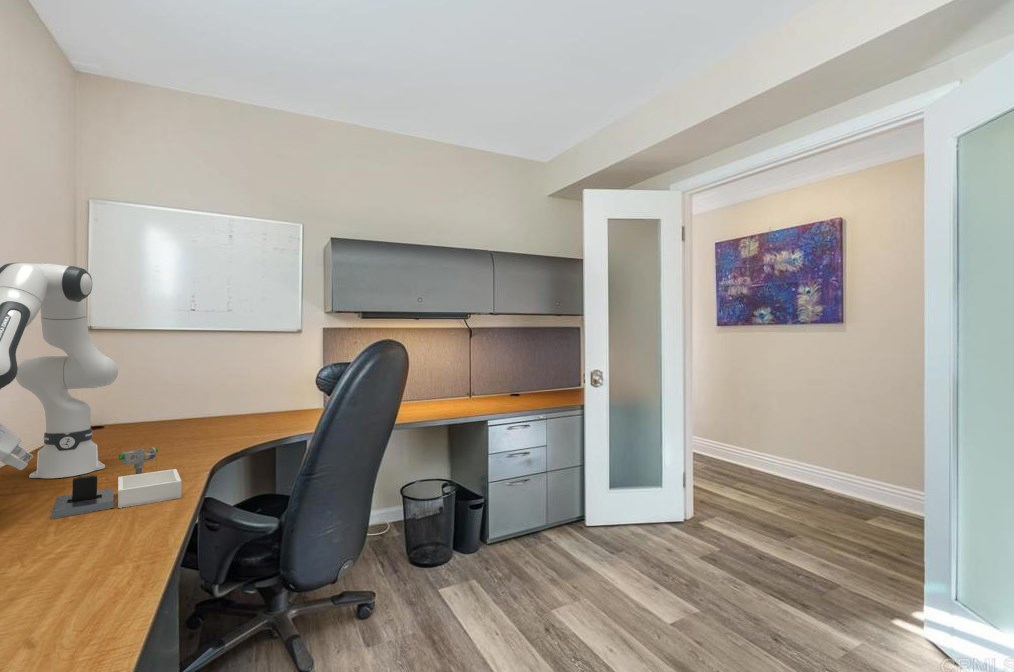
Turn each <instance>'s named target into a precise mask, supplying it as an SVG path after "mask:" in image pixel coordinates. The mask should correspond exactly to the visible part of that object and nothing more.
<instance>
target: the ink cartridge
mask: <svg viewBox="0 0 1014 672" xmlns="http://www.w3.org/2000/svg"><path fill="white" fill-rule="evenodd" d="M98 479H99V478H98V475H94V474H91V475H85V476H84V475H83V476H77V477H73V479H72V493H71V494H72V503H73V502H80V501H86V500H92V499H97V491H98Z"/></svg>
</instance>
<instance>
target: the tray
mask: <svg viewBox="0 0 1014 672" xmlns="http://www.w3.org/2000/svg"><path fill="white" fill-rule="evenodd" d="M117 477H118V478H117V481H118V483H117V484H118V487H117V488H118V489H117V493H118V494H117V509H118V508H120V509H123V508H122V507H126V508H130V507H129V506H131V507H137V506H142V505H147V504H149V505H150V504H155V503H159V502H166V501H172V500H177V499H182V478H181V476H180V474H179V472H178V470H177V468H174V469H166V470H158V471H151V472H145V473H143V472H142V474H136V473H135V474H130V475H124V476H123V475H122V476H117ZM136 505H137V506H136Z"/></svg>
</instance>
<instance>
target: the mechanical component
mask: <svg viewBox="0 0 1014 672" xmlns="http://www.w3.org/2000/svg"><path fill="white" fill-rule="evenodd" d="M148 451H149V452H147V451H146V450H145V449H143V448H139V449H135V450H134V449H133V450H130V451H129V450H127V451H123V452H120V454H119V455H118V460H120V461H121V464H123V465H127V466H132V465H133V469H135V475H136V474H143V468H145V466H144V463H146V462H151V461H154V460H156V458H157V453H158V451H159V449H158V447H150V448H149V450H148ZM146 457H148V458H146Z"/></svg>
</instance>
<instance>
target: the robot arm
mask: <svg viewBox="0 0 1014 672" xmlns="http://www.w3.org/2000/svg"><path fill="white" fill-rule="evenodd" d="M92 290H93V277H92V276H91V274H90V273H89V272H88V271H87V270H86V269H85V268H82V267H79V266H74V265H69V266H68V265H63V264H55V263H47V262H46V263H32V262H31V263H25V262H24V263H23V262H11V263H10V262H9V263H5V264H3V265H2V266H1V267H0V390H2V389H3V388H5V387H6V386H8V385H9V384H11V383H12V382H13V381H14V380H16V382H17V383H18V384H19V385H20V386H21V387H22V388H23V389H26V390H27V391H29V392H30V393H32V394H33V395H34V396H35V397H37V399H38V400H39V401H40V402H41V404H42V407H43V409H44V414H45V415H44V416H45V432H44V434H43V435H44V436H43V444H44V446H42V447H41V448H40V449H39V450H38V451H37V459H36V470H35V471H33V472H31V473H30V474H29V477H28V478H29V479H36V478H37V479H39V478H40V479H59V478H69V477H75V476H79V475H84V474H88V473H92V472H94V471H99V470H104V469H105V468H106V465H105V464H104V463H102V462H101V461H100V460H99V457H100V455H99V454H98V445H97V443H95V442H94V441H93V440H92V439H93V428H92V427H91V412H92V411H91V406H90V405H89V404H88V403H87V402H85V401H84V400H81V399H78V398H75V397H73V396H72V395H70V393H69V390H77V389H78V390H79V389H95V388H96V389H97V388H101V387H102V388H103V387H106V386H107V387H108V386H110V385H112V384H113V383H114V382H115V380H116V379H117V378H118V376H119V375H118V374H119V368H118V365H117V363H116V362H115V361H114V359H113V358H111V357H109V356H107V355H105V354H104V353H102V352H101V351H100V350H99V349H97V347H96V345H95V344H94V343H93V341H92V340H91V337H90V333H89V327H88V325H89V324H88V317H87V314H88V313H87V308H86V303H85V299H86V298H87V297H88V296H89V295H90V294H91V293H92ZM39 312H40V322H41V330H42V332H41V333H42V338H43V340H44V341H45V342H46V343H47V344H48V345H49V346H52V347H53V348H58V349H60V350H61V351H63V352H64V353H66V355H65V356H63V355H62V356H39V357H32V358H27V359H23V360H22V361H21V362H20V363H19V364H18V361H17V351H18V350H17V349H18V346H19V343H20V341H21V339H22V336H23V334H24V332H25V330H26V327H29V325H31V323H32V322H33V320H35V318H36V317H37V316H38V313H39ZM21 442H22V439H21V438H20V436H18V435H17V434H15V433H14V432H13V431H12V430H10V429H9V428H8V427H7V426H5V425H3V424H2V423H0V462H2V463H3V464H5V465H8V466H11V467H13V468H15V469H17V470H19V471H22V470H24V469H25V468H26V467H27V466H28V464H29V463H28V462H30V461H31V460H32V459H33V458H34V455H33V454H31V453H30V452H28V451H27V450H26V449H25V448H24V447H23V446H22V445H20V444H21Z"/></svg>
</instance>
